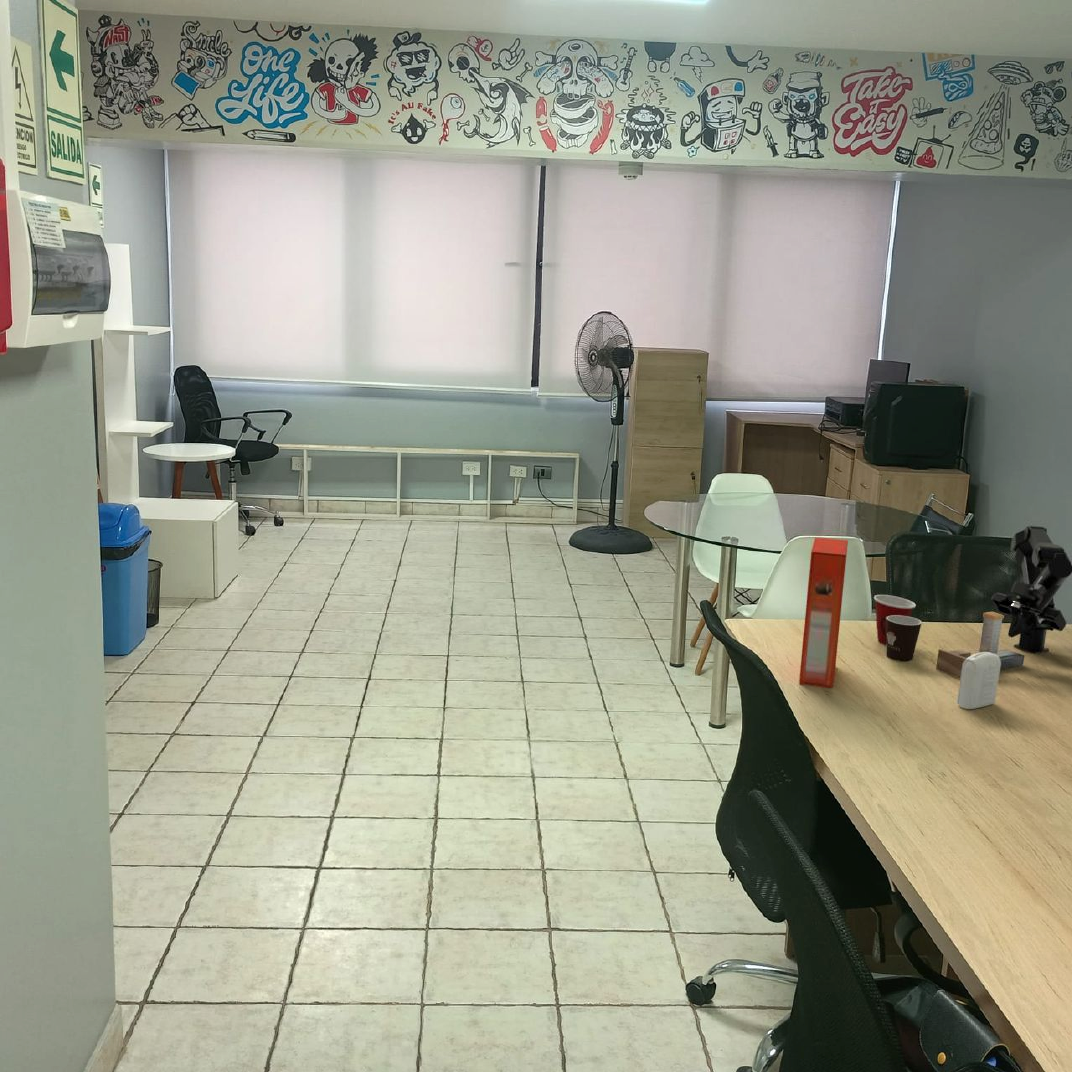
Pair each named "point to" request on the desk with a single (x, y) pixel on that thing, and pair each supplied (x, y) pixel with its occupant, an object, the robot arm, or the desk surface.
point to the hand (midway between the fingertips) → (1009, 636)
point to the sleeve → (1011, 661)
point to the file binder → (823, 612)
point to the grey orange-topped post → (993, 635)
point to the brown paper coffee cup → (901, 636)
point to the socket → (952, 661)
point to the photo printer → (979, 680)
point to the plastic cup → (890, 611)
